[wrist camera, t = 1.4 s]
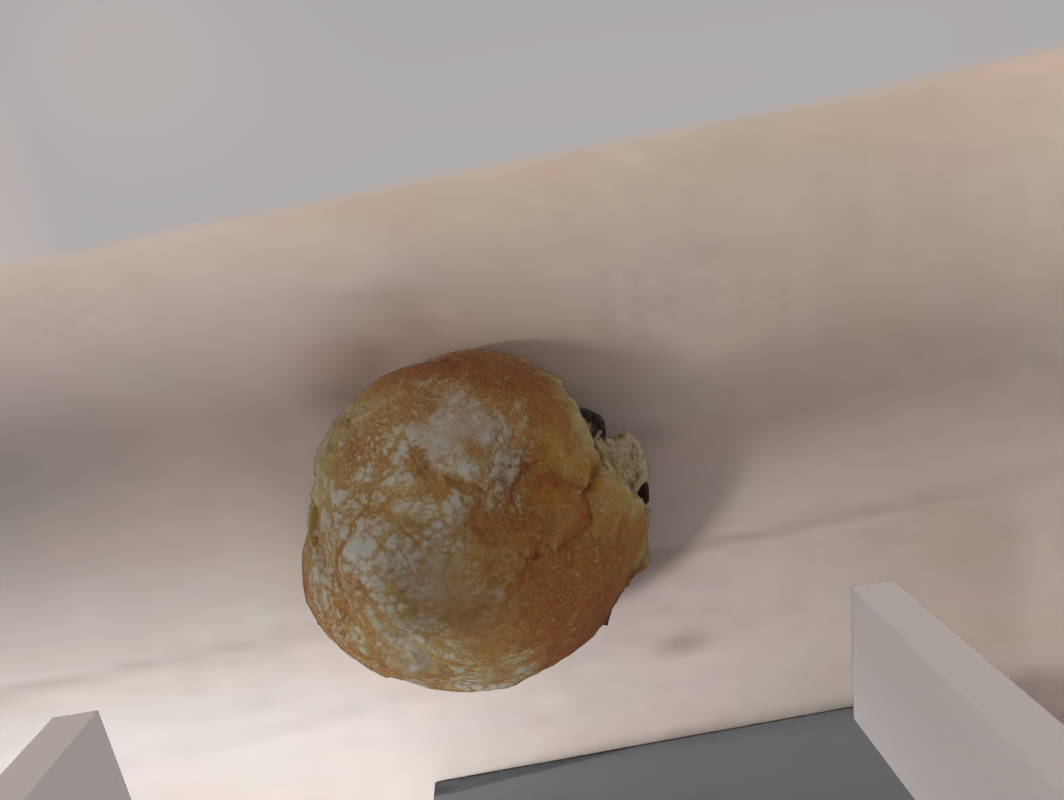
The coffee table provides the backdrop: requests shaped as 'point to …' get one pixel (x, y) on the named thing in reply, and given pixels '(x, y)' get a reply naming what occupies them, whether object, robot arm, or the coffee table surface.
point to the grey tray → (710, 768)
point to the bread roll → (471, 523)
